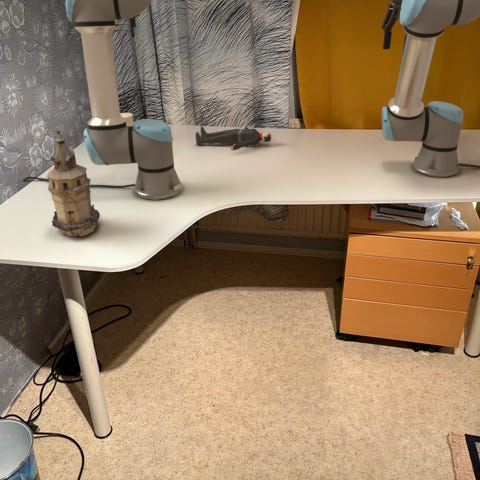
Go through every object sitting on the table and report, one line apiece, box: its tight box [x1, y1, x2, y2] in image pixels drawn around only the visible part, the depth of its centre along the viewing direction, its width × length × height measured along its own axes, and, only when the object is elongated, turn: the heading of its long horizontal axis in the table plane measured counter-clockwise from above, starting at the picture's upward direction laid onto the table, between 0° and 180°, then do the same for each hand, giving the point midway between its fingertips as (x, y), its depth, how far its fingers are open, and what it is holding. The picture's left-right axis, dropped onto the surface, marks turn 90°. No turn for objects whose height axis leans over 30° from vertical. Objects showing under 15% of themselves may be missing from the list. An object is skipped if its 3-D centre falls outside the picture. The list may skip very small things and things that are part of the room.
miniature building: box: [46, 129, 101, 237], centre depth 148 cm, size 13×14×30 cm
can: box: [120, 112, 135, 126], centre depth 220 cm, size 7×7×11 cm
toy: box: [195, 125, 272, 152], centre depth 216 cm, size 26×6×30 cm
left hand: (114, 38), depth 202 cm, fingers open, 13 cm apart
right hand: (395, 52), depth 204 cm, fingers open, 13 cm apart
